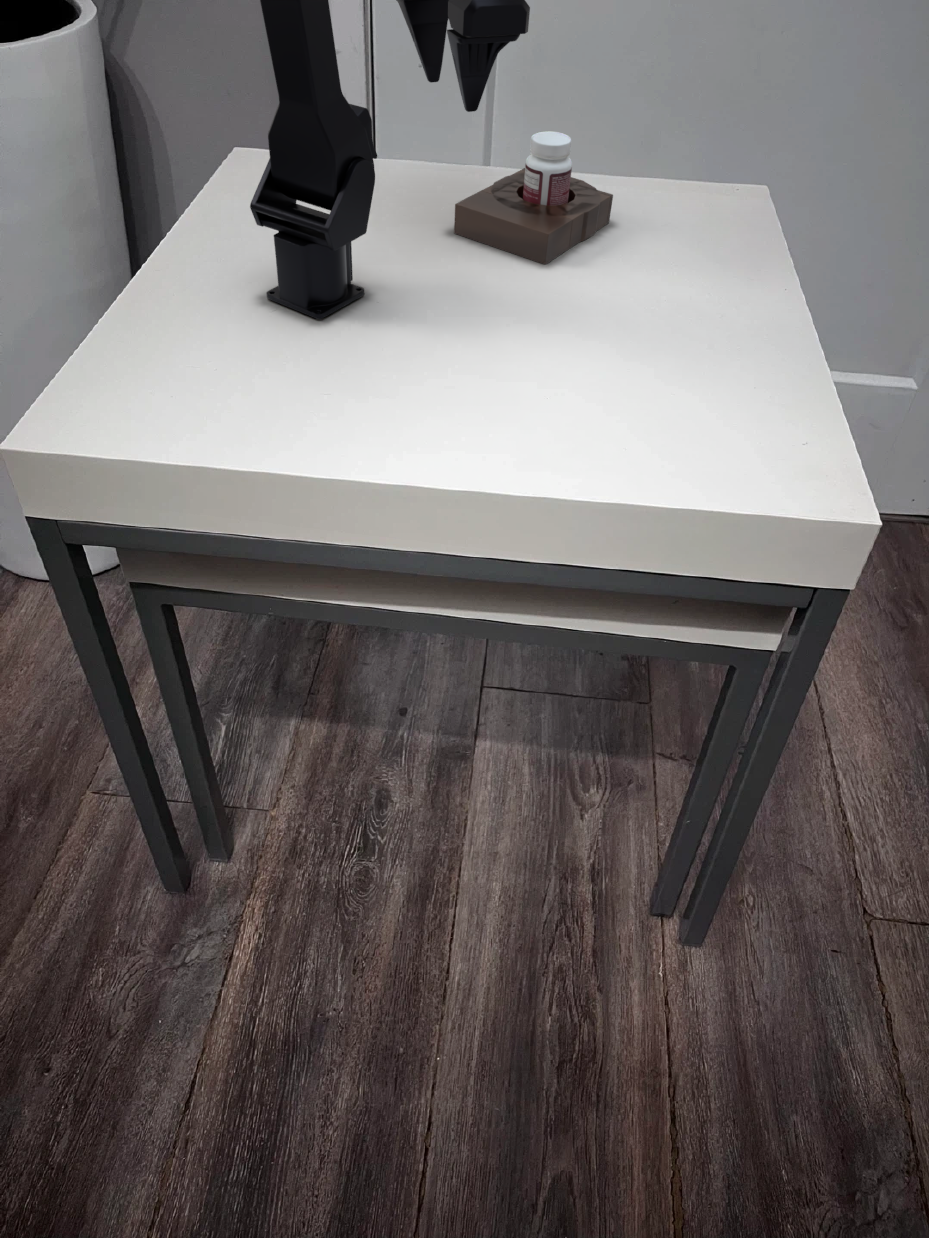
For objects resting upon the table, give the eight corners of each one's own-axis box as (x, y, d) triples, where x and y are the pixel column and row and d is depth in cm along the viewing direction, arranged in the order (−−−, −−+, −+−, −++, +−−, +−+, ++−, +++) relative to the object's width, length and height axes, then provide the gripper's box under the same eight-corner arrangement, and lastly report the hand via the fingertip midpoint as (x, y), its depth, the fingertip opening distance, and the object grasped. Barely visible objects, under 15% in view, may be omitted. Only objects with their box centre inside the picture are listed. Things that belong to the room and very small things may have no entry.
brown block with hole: (546, 265, 95) (550, 235, 93) (452, 233, 99) (453, 203, 97) (616, 220, 103) (620, 191, 101) (526, 192, 108) (528, 164, 105)
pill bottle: (566, 215, 104) (576, 131, 98) (564, 233, 100) (574, 148, 94) (521, 211, 104) (529, 127, 98) (518, 229, 100) (526, 144, 95)
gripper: (595, -85, 79) (570, 120, 90) (498, -122, 91) (486, 63, 102) (471, -83, 76) (461, 130, 86) (387, -122, 87) (387, 70, 98)
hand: (451, 96), depth 93 cm, fingers open, 9 cm apart
